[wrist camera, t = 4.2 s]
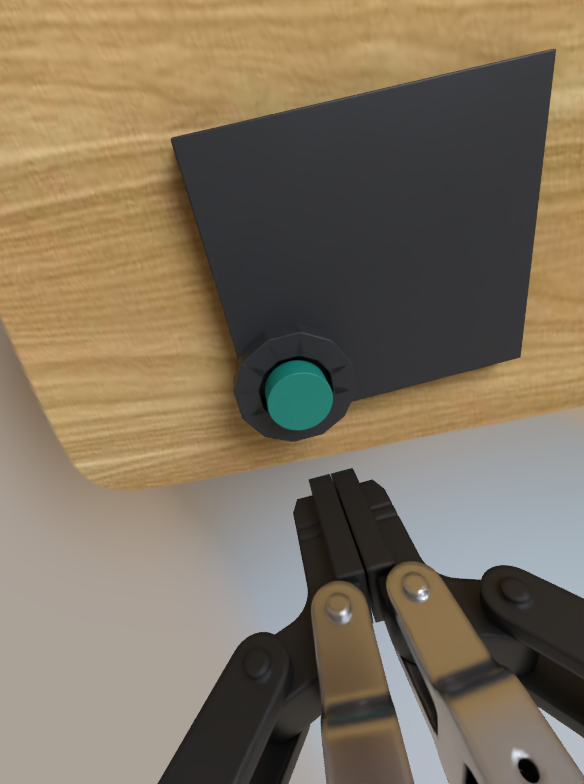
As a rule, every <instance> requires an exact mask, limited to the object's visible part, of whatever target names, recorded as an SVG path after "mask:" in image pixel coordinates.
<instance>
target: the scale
mask: <svg viewBox="0 0 584 784" xmlns="http://www.w3.org/2000/svg"><path fill="white" fill-rule="evenodd" d="M555 53H556V49H550V50H546V51H542V52H538V53H533V54H529V55H525V56H520V57H516V58H512V59H507V60H503V61H499V62H495V63H490V64H486V65H482V66H477V67H473V68H469V69H465V70H460V71H456V72H452V73H447V74H443V75H439V76H435V77H430V78H426V79H422V80H417V81H413V82H409V83H404V84H400V85H396V86H392V87H387V88H383V89H379V90H374V91H370V92H366V93H362V94H357V95H353V96H349V97H344V98H340V99H336V100H332V101H327V102H323V103H319V104H314V105H310V106H306V107H301V108H297V109H293V110H289V111H284V112H280V113H276V114H271V115H267V116H263V117H259V118H254V119H250V120H246V121H241V122H237V123H233V124H228V125H224V126H220V127H216V128H211V129H207V130H203V131H198V132H194V133H190V134H186V135H181V136H177V137H173V138H171V142H172V146H173V149H174V152H175V155H176V159H177V162H178V165H179V168H180V171H181V175H182V178H183V181H184V184H185V188H186V191H187V194H188V197H189V201H190V204H191V207H192V210H193V214H194V217H195V220H196V223H197V227H198V230H199V233H200V236H201V240H202V243H203V246H204V249H205V252H206V256H207V259H208V262H209V265H210V269H211V272H212V275H213V278H214V282H215V285H216V288H217V291H218V295H219V298H220V301H221V304H222V308H223V311H224V314H225V317H226V320H227V324H228V327H229V330H230V333H231V337H232V340H233V343H234V346H235V350H236V353H237V356H238V359H239V362H238V366H237V369H236V373H235V376H234V394H235V397H236V400H237V403H238V406H239V409H240V412H241V415H242V418H243V419H244V420H245V421H246V422H247V423H248V424H250V425H251V426H252V427H253V428H255V429H256V430H257V431H258V432H260V433H261V434H262V435H263V436H266V437H269V438H275V439H280V440H286V441H291V442H293V441H298V440H302V439H306V438H310V437H314V436H317V435H321V434H323V433H325V432H326V431H327V430H328V429H329V428H331V427H332V426H333V425H334V424H336V423H337V422H338V421H339V420H340V419H342V418H343V417H344V416H345V414H346V412H347V410H348V407H349V405H350V403H351V402H352V401H356V400H359V399H363V398H367V397H371V396H375V395H379V394H382V393H386V392H390V391H394V390H398V389H401V388H405V387H409V386H413V385H417V384H421V383H424V382H428V381H432V380H436V379H440V378H443V377H447V376H451V375H455V374H459V373H463V372H466V371H470V370H474V369H478V368H482V367H486V366H489V365H493V364H497V363H501V362H505V361H508V360H512V359H516V358H520V357H521V348H522V339H523V331H524V322H525V313H526V305H527V296H528V287H529V279H530V270H531V261H532V253H533V244H534V235H535V227H536V218H537V209H538V201H539V192H540V183H541V175H542V166H543V157H544V149H545V140H546V131H547V123H548V114H549V105H550V97H551V88H552V79H553V71H554V62H555ZM293 360H303V361H307V362H310V363H312V364H314V365H316V366H317V367H318V368H319V369H320V370H321V371H322V373H323V374H324V376H325V378H326V380H327V382H328V384H329V386H330V388H331V390H332V393H333V403H332V407H331V410H330V412H329V413H328V415H327V416H326V418H325V419H324V420H323V421H322V422H320V423H319V424H317V425H316V426H314V427H312V428H309V429H305V430H290V429H286V428H283V427H282V426H280V425H278V424H277V423H276V422H275V421H274V420H273V419H272V418H271V416H270V414H269V411H268V407H267V401H266V396H265V385H266V381H267V379H268V377H269V375H270V374H271V372H272V371H273V370H274V369H275V368H277V367H278V366H279V365H281V364H283V363H285V362H288V361H293Z"/></svg>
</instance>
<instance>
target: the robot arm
mask: <svg viewBox="0 0 584 784" xmlns="http://www.w3.org/2000/svg"><path fill="white" fill-rule="evenodd" d="M331 477H332V479H331ZM331 477H330V474H328V475H324V476H320V477H316V478H312V479H309V483H310V487H311V491H312V496H308V497H305V498H301V499H297V502H296V505H295V509H294V513H293V514H294V520H295V525H296V529H297V535H298V540H299V545H300V551H301V555H302V561H303V566H304V571H305V576H306V582H307V587H308V597H307V602H306V605H305V607H304V609H303V611H302V613H301V614H300V615H299V617H298V618H297V619H296V620H295V621H294V622H292V623H291V624H290V625H288V626H287V627H285V628H284V629H282V630H281V631H279V632H278V633H277V634H275V635H274V634H271V633H268V632H259V633H256V634H253V635H251V636H249V637H247V638H246V639H245V640H244V641H242V642H241V644H240V645H239V646H238V647H237V649H236V650H235V652H234V653H233V655H232V657H231V659H230V660H229V662H228V664H227V665H226V667H225V669H224V671H223V672H222V674H221V676H220V677H219V679H218V681H217V683H216V684H215V686H214V688H213V689H212V691H211V693H210V695H209V696H208V698H207V700H206V701H205V703H204V705H203V707H202V708H201V710H200V712H199V713H198V715H197V717H196V719H195V720H194V722H193V724H192V725H191V727H190V729H189V731H188V733H187V734H186V736H185V737H184V739H183V741H182V743H181V744H180V746H179V748H178V750H177V751H176V753H175V755H174V757H173V758H172V760H171V762H170V764H169V765H168V767H167V768H166V770H165V772H164V774H163V775H162V777H161V779H160V780H159V782H158V784H288V783H289V781H290V778H291V775H292V773H293V770H294V768H295V765H296V762H297V760H298V757H299V754H300V752H301V749H302V747H303V744H304V741H305V739H306V736H307V734H308V731H309V727H310V724H311V723H312V722H313V721H314V720H316V719H317V718H318V717H319V716H320V715H321V736H322V746H323V755H324V765H325V774H326V783H327V784H414V781H413V777H412V773H411V769H410V765H409V761H408V757H407V753H406V750H405V746H404V742H403V738H402V734H401V730H400V726H399V722H398V718H397V715H396V711H395V708H394V705H393V702H392V699H391V695H390V692H389V688H388V684H387V680H386V676H385V672H384V668H383V664H382V660H381V656H380V653H379V649H378V645H377V641H376V637H375V633H374V629H373V625H372V623H373V618H372V613H373V616H374V619H375V622H380V621H385V624H386V627H387V630H388V633H389V635H390V638H391V641H392V643H393V645H394V648H395V651H396V654H397V656H398V658H399V661H400V663H401V665H402V668H403V669H404V672H405V674H406V677H407V679H408V681H409V684H410V686H411V688H412V691H413V693H414V695H415V697H416V700H417V702H418V704H419V707H420V709H421V711H422V713H423V716H424V718H425V720H426V723H427V725H428V727H429V729H430V732H431V734H432V737H433V739H434V742H435V745H436V748H437V751H438V755H439V758H440V761H441V764H442V766H443V769H444V772H445V774H446V777H447V780H448V782H449V784H584V775H583V774H582V772H581V771H580V770H579V768H578V766H577V765H576V764H575V762H574V761H573V759H572V758H571V756H570V755H569V753H568V752H567V750H566V749H565V747H564V746H563V744H562V743H561V741H560V740H559V738H558V737H557V735H556V734H555V732H554V731H553V729H552V728H551V726H550V725H549V723H548V722H547V720H546V719H545V717H544V716H543V714H542V713H541V711H540V710H539V709H538V707H539V708H541V709H542V710H544V711H545V712H547V713H548V714H550V715H551V716H553V717H554V718H556V719H557V720H558V721H560V722H561V723H563V724H564V725H566V726H567V727H569V728H570V729H572V730H573V731H575V732H576V733H578V734H579V735H580V736H582V737H583V738H584V599H583V598H581V597H579V596H577V595H575V594H573V593H571V592H569V591H567V590H565V589H562V588H560V587H558V586H556V585H554V584H552V583H550V582H548V581H545V580H544V579H541V578H539V577H537V576H535V575H533V574H531V573H529V572H527V571H525V570H522V569H520V568H517V567H513V566H507V565H500V566H495V567H492V568H490V569H488V570H487V571H486V572H485V573H484V575H483V576H482V579H481V580H475V579H459V578H451V577H447V576H444V575H441V574H439V573H437V572H436V571H435V570H434V569H432V568H431V567H429V566H427V565H426V564H425V563H424V562H423V560H422V559H421V557H420V556H419V554H418V552H417V550H416V548H415V546H414V544H413V542H412V540H411V539H410V537H409V535H408V533H407V531H406V529H405V527H404V525H403V523H402V521H401V519H400V518H399V516H398V515H397V512H396V510H395V508H394V506H393V505H392V503H391V500H390V499H389V497H388V495H387V493H386V491H385V489H384V488H382V487H381V486H380V485H379V484H377V483H376V482H375V481H374V480H369V481H365V482H362V483H359V481H358V479H357V476H356V474H355V472H354V470H353V469H352V468H351V469H347V470H343V471H339V472H335V473H332V474H331ZM371 610H372V612H371ZM537 706H538V707H537Z"/></svg>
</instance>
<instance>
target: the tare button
mask: <svg viewBox="0 0 584 784" xmlns="http://www.w3.org/2000/svg"><path fill="white" fill-rule="evenodd" d="M265 396H266V401H267V407H268V411H269V414H270V416H271V418H272V419H273V420H274V421H275V422H276V423H277V424H278V425H280V426H282V427H283V428H286V429H290V430H305V429H309V428H312V427H314V426H316V425H317V424H319V423H320V422H322V421H323V420H324V419H325V418H326V416H327V415H328V413H329V412H330V410H331V407H332V403H333V393H332V390H331V388H330V386H329V384H328V382H327V380H326V378H325V376H324V374H323V373H322V371H321V370H320V369H319V368H318V367H317V366H316V365H314V364H312V363H310V362H307V361H303V360H293V361H288V362H285V363H283V364H281V365H279V366H278V367H277V368H275V369H274V370H273V371H272V372H271V374H270V375H269V377H268V379H267V381H266V385H265Z"/></svg>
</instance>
